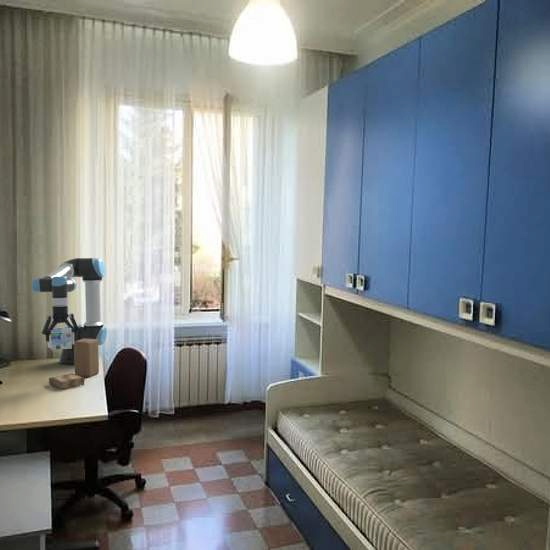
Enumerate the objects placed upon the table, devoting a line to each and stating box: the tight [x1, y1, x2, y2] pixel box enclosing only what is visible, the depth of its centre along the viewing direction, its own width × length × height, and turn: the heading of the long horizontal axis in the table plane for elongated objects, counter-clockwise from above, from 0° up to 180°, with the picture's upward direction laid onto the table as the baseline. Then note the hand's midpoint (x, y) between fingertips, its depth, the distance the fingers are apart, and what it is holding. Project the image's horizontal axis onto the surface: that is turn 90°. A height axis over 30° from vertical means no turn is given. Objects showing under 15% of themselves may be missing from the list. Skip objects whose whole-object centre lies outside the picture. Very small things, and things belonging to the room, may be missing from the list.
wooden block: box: [73, 338, 100, 378], centre depth 322 cm, size 10×10×20 cm
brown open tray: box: [48, 372, 85, 391], centre depth 301 cm, size 13×13×4 cm
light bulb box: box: [50, 326, 72, 351], centre depth 301 cm, size 11×7×11 cm, turn 116°
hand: (61, 345), depth 301 cm, fingers closed on light bulb box, 12 cm apart
